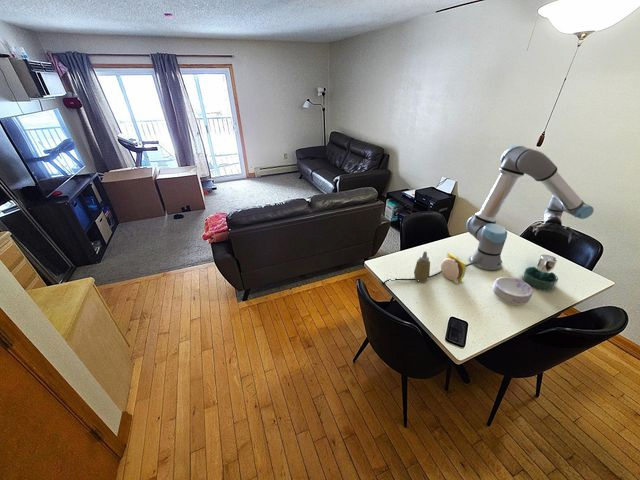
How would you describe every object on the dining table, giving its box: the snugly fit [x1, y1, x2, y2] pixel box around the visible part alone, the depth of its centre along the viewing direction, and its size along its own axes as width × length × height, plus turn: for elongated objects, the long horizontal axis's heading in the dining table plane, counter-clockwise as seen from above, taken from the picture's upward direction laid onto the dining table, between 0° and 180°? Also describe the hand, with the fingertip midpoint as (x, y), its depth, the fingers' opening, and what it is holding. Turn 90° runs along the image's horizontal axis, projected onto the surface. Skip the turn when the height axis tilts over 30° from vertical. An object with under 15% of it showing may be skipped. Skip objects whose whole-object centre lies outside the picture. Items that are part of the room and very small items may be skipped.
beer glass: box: [533, 254, 558, 282], centre depth 134 cm, size 7×7×15 cm
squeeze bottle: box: [413, 250, 431, 283], centre depth 141 cm, size 8×8×18 cm
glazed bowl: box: [521, 266, 559, 292], centre depth 136 cm, size 14×14×6 cm
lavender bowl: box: [492, 276, 534, 306], centre depth 127 cm, size 15×15×8 cm
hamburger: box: [440, 252, 467, 284], centre depth 142 cm, size 12×8×12 cm
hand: (553, 237), depth 133 cm, fingers open, 13 cm apart
